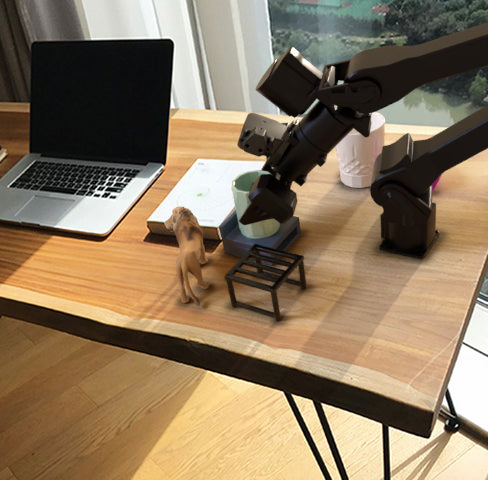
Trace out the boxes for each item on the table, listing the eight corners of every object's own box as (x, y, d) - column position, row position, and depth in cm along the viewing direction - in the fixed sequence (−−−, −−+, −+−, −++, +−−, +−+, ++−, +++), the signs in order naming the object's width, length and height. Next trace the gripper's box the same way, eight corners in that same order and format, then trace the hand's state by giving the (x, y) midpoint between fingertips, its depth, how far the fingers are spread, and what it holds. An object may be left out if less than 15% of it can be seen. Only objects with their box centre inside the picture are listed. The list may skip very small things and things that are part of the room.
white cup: (387, 188, 108) (385, 131, 102) (336, 192, 110) (332, 136, 104) (385, 163, 114) (384, 107, 108) (337, 167, 116) (333, 113, 110)
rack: (307, 286, 94) (304, 255, 91) (279, 322, 90) (273, 290, 86) (260, 273, 98) (254, 243, 95) (230, 306, 94) (223, 276, 91)
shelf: (301, 233, 104) (297, 205, 101) (272, 265, 99) (267, 238, 96) (254, 222, 109) (249, 196, 106) (224, 253, 104) (218, 226, 101)
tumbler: (287, 220, 102) (281, 173, 97) (266, 242, 99) (259, 195, 94) (253, 212, 105) (246, 167, 100) (232, 234, 102) (223, 188, 97)
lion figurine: (173, 254, 107) (159, 205, 101) (206, 246, 106) (194, 197, 101) (182, 313, 95) (168, 262, 90) (219, 304, 95) (207, 253, 89)
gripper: (280, 67, 95) (218, 143, 105) (254, 132, 81) (186, 211, 92) (341, 116, 97) (274, 185, 107) (325, 186, 84) (251, 257, 94)
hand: (247, 206), depth 100 cm, fingers open, 8 cm apart
